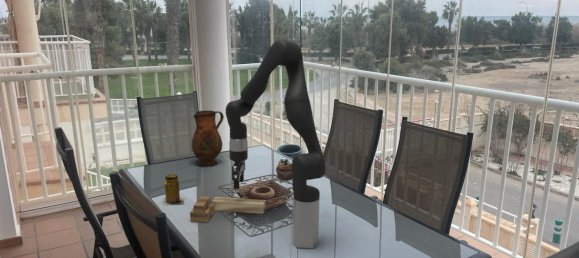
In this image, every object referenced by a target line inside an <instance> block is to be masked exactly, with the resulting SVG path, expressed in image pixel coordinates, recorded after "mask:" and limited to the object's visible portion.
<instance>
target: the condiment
mask: <svg viewBox="0 0 579 258" xmlns="http://www.w3.org/2000/svg"><path fill="white" fill-rule="evenodd" d="M178 177H179V176H178V175H177V174H173V173H172V174H171V173H170V174H167V175H165V177H164V178H165V181H164V190H165V191H164V192H165V193H164V195H165V201H164V203H163V205H164V206H165V205H166V206H168V205H184V204H185V201H186V197H181V196H180V182H179V178H178Z"/></svg>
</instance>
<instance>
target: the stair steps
mask: <svg viewBox="0 0 579 258" xmlns="http://www.w3.org/2000/svg"><path fill="white" fill-rule="evenodd" d="M211 200H212V199H211V196H210V195H209V196H207V195H201V196H200V197H199V198H198V199H197V200H196V202H195V203H194V204H193V205H192V206H193V208H192V209H191V210H190V212H189V215H190V216H189V217H190V218H189V220H190V223H205V224H207V223H209V222H210V220H211V219H212V217H213V215H214V214H215V210H214V203H212V201H211Z"/></svg>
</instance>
